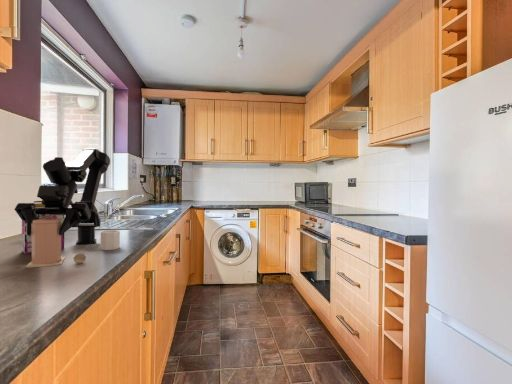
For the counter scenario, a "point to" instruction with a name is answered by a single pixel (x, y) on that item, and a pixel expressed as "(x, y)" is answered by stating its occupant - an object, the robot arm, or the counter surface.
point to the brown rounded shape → (46, 241)
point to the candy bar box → (28, 239)
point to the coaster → (45, 264)
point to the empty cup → (110, 239)
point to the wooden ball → (79, 258)
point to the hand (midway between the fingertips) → (44, 234)
